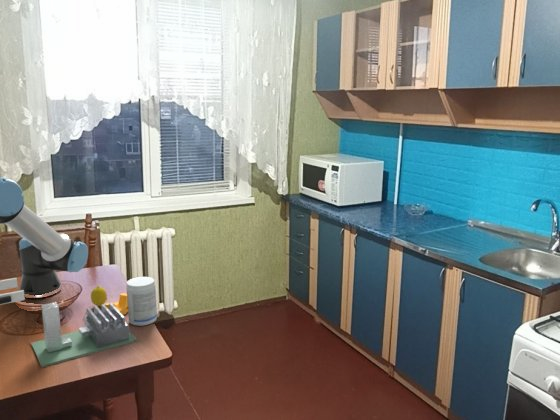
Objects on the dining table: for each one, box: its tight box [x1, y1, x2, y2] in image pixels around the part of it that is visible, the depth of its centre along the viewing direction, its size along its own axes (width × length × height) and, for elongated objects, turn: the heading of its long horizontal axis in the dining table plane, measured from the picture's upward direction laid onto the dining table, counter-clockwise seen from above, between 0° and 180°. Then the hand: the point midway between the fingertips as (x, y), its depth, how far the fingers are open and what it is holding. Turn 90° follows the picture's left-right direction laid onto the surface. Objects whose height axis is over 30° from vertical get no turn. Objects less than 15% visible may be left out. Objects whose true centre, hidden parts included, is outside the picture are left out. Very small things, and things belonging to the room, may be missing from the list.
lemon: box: [90, 285, 108, 308], centre depth 181 cm, size 6×6×8 cm
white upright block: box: [40, 301, 72, 353], centre depth 149 cm, size 4×7×14 cm, turn 126°
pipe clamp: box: [104, 292, 128, 316], centre depth 173 cm, size 12×4×6 cm, turn 169°
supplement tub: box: [126, 276, 158, 326], centre depth 170 cm, size 10×10×15 cm
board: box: [30, 330, 138, 368], centre depth 155 cm, size 16×28×1 cm, turn 126°
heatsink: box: [78, 301, 130, 348], centre depth 157 cm, size 14×13×8 cm
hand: (20, 288), depth 141 cm, fingers open, 11 cm apart
